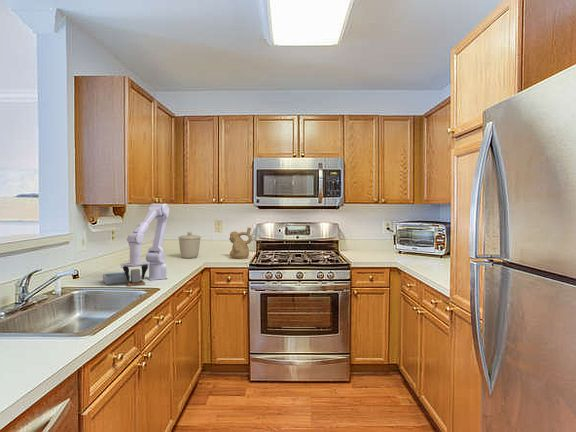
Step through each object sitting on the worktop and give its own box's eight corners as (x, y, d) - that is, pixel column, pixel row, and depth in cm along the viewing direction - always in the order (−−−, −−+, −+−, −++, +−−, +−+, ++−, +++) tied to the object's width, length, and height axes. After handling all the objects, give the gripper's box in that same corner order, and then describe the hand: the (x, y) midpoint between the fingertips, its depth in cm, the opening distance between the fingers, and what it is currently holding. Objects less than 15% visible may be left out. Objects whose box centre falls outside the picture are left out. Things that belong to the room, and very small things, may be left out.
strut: (138, 283, 209) (138, 268, 208) (140, 284, 205) (140, 269, 205) (130, 284, 207) (130, 269, 206) (132, 285, 203) (132, 270, 203)
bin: (125, 279, 219) (125, 272, 219) (129, 282, 209) (129, 275, 209) (102, 281, 213) (102, 274, 213) (105, 285, 203) (105, 277, 202)
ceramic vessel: (233, 256, 318) (233, 226, 317) (255, 257, 313) (255, 227, 312) (224, 258, 302) (224, 227, 301) (247, 260, 296) (247, 228, 295)
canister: (196, 255, 318) (196, 230, 317) (204, 258, 303) (204, 232, 302) (175, 256, 308) (175, 231, 308) (181, 259, 293) (181, 232, 293)
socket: (141, 282, 212) (141, 279, 212) (145, 284, 205) (145, 282, 205) (125, 283, 207) (125, 281, 207) (128, 286, 200) (128, 284, 200)
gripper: (122, 256, 198) (122, 282, 199) (150, 255, 206) (150, 279, 206) (120, 255, 204) (120, 280, 205) (148, 253, 212) (148, 277, 212)
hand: (135, 279), depth 206 cm, fingers open, 7 cm apart
